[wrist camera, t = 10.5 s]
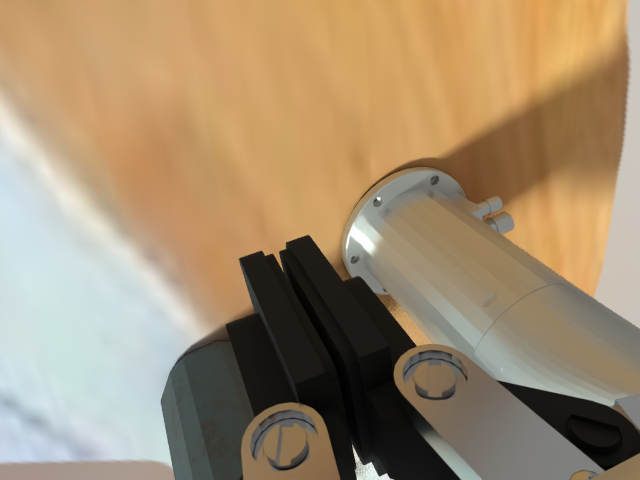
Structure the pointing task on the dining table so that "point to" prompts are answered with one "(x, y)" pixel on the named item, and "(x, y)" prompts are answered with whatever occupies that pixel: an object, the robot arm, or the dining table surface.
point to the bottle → (206, 414)
